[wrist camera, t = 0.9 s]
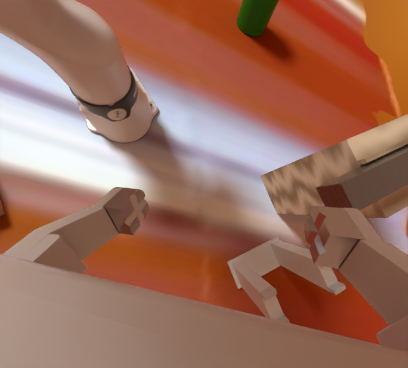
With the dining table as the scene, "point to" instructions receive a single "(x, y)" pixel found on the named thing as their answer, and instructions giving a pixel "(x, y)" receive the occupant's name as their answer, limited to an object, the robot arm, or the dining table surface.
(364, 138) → the stand
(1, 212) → the crate
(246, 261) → the rack
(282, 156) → the dining table surface
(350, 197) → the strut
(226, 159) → the dining table surface
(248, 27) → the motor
